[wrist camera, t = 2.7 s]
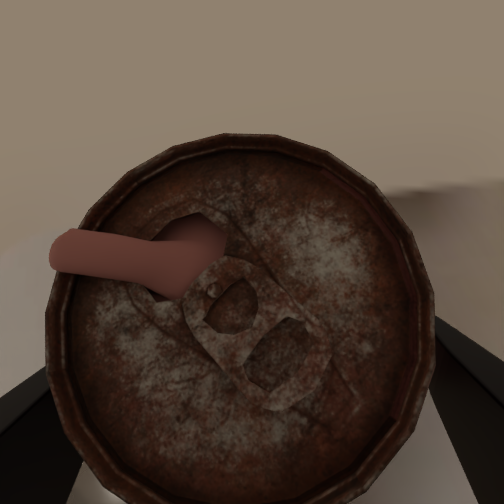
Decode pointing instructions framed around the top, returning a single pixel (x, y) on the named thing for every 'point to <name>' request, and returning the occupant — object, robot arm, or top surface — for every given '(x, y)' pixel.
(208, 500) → the can
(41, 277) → the top surface
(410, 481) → the top surface
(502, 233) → the top surface
